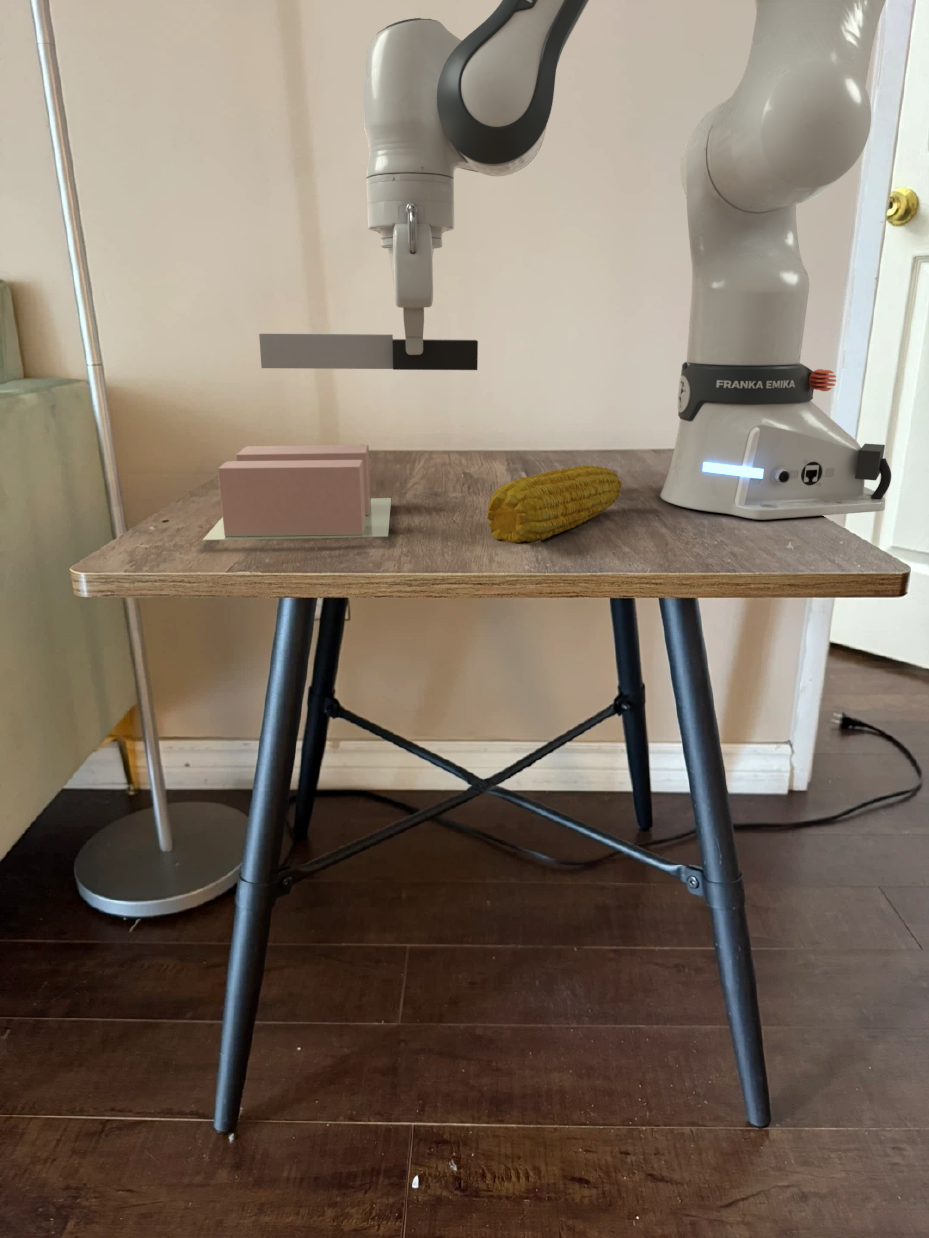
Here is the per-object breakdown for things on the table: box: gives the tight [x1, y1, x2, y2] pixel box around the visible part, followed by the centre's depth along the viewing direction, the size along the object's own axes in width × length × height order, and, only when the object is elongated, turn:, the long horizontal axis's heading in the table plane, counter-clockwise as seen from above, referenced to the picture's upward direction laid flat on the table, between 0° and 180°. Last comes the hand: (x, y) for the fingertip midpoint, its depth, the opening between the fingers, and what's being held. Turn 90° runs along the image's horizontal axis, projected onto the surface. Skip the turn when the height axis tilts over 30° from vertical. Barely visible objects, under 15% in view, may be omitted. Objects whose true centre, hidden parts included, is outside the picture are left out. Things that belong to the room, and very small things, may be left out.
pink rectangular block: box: [235, 444, 372, 515], centre depth 83 cm, size 12×5×6 cm, turn 94°
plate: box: [202, 497, 392, 541], centre depth 82 cm, size 16×16×1 cm
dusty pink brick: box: [217, 460, 366, 537], centre depth 75 cm, size 12×4×6 cm, turn 92°
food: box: [486, 464, 622, 544], centre depth 80 cm, size 21×6×6 cm, turn 148°
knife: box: [258, 333, 479, 371], centre depth 92 cm, size 23×3×4 cm, turn 94°
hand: (414, 353), depth 92 cm, fingers closed on knife, 2 cm apart
